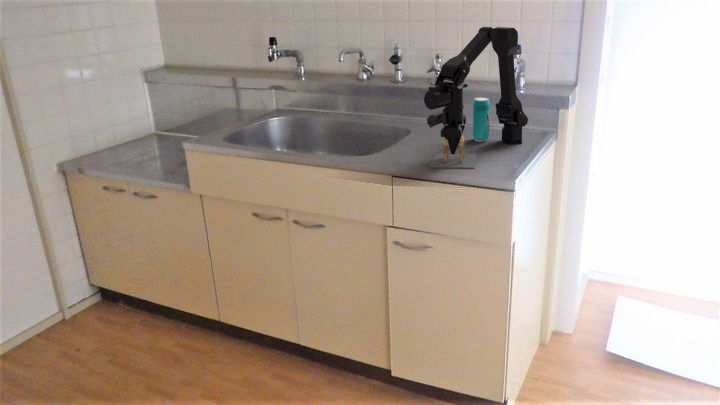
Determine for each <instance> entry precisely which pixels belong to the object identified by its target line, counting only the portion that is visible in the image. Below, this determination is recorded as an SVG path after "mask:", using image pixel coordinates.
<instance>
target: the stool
mask: <svg viewBox="0 0 720 405" xmlns="http://www.w3.org/2000/svg"><path fill="white" fill-rule="evenodd" d="M443 138H444V139H443V142H442V144H443V145H442V146H443V148H442V149H443V151H442V152H443V153H442V154H443V156H444V162H447V158H449V154H450V148H449V144H448V140H447V139H446V138H445V137H443ZM458 147H459V149H458V151H459V152H458V154H459V162H463V158H464V154H465V136H464V135H462V136H461V139H460V142H459V144H458Z"/></svg>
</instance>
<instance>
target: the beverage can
mask: <svg viewBox="0 0 720 405" xmlns="http://www.w3.org/2000/svg"><path fill="white" fill-rule="evenodd" d="M490 104H491V102H490V98H489V97H484V96H483V97H482V96H481V97H474V99H473V103H472V137H473V140H474V141H475V142H478V143H485V142H488V140H489V137H490V115H491V114H490V110H491V109H490V108H491V105H490Z"/></svg>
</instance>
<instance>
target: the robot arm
mask: <svg viewBox="0 0 720 405" xmlns="http://www.w3.org/2000/svg"><path fill="white" fill-rule="evenodd" d="M489 44H491V47H492V49H493V51H494V52H495V53H496V55H497V58H498V62H497V63H498V74H499V85H500V86H499V87H500V88H499V90H500V99H499V101H497V102H496V103H495V115H496V116H497V118H498V123H499V124H502V125H503V127H502V128H501V141H502V143H503V144H523V127H525V126H527V125H528V122H529V117H528V116H527V115H526V113H525V112H524V110H523V105H522V102H521V100H520V99H519V97H518V96H517V92H516V90H517V89H516V74H515V58H514V54H515V52H516V50H517V48H518V44H519V32H518V30H517V29H516V28H515V27H509V26H508V27H507V26H506V27H505V26H503V27H502V26H495V27H493V26H482V27H479V29H478V30H477V33H476V35H475V36H473V38H472V39H471V40H470V42H468V44H467V45H465V47H464V48H463V49H462V50H461V51H460V52H459V53H458V54H457V55H456V56H453V57H451V58H449V59H448V60H447V61H446V62H445V63H443V64H442V66H441V68H440V71H439V73H438V75H437V77H436V79H435V82H434V83H433V84H434V86H432V85H431V86H429V87H428V91H427V92H426V93H425V94H424V97H423V101H424V105H425V107H426V108H427V109H429V110H430V111H431V110H436V109H439V108H442V110H441V111H437V112H434V113H432V114H429V115H427V117H426V124H427V125H428V126H429V128H434V127H435V126H438V125H440V124H442V125H443V126H442V127H441V129H440V137H441V138H446V139H447V140H448V144H449V152H450V154H456V151H457V149H458V147H459V146H458V144H459V142H460V139H461V136H463V133H464V130H465V127H466V124H467V116H466V115H465V114H464V88H468V86H469V85H468V84H467V83H466V82H464V81H465V80H466V78H467V77H468V75H469V74H470V71H471V66H472V64H473V63H474V62H475V61H476V60H477V59H478V57H479V56H480V54H482V53H483V52H484V50H485V49H486V48H487V46H488V45H489Z"/></svg>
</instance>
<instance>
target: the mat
mask: <svg viewBox="0 0 720 405" xmlns="http://www.w3.org/2000/svg"><path fill="white" fill-rule="evenodd" d="M477 158H478V153H464V158H463V162H459V153H455V154H451V153H449V158H447V162H444V156H443V153H437V152H436V153H434V156H433V158H432V160H431V162H430V164H429V169H466V170H467V169H470V170H471V169H473V170H475V168H476V167H475V166H476V162H477Z"/></svg>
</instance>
